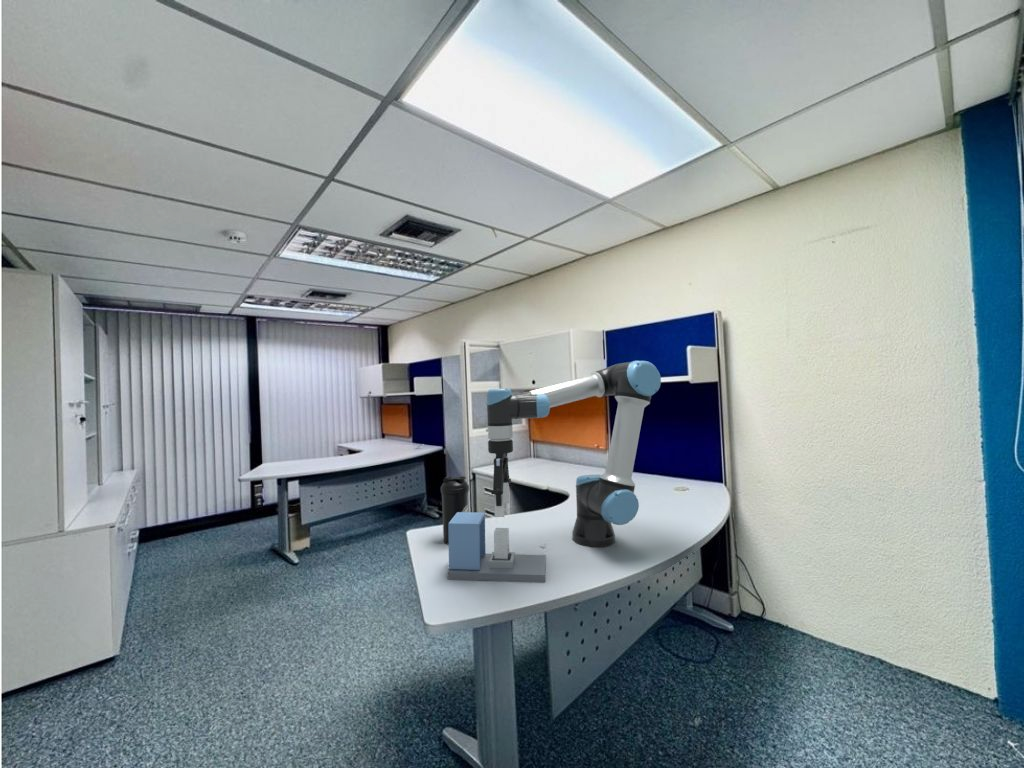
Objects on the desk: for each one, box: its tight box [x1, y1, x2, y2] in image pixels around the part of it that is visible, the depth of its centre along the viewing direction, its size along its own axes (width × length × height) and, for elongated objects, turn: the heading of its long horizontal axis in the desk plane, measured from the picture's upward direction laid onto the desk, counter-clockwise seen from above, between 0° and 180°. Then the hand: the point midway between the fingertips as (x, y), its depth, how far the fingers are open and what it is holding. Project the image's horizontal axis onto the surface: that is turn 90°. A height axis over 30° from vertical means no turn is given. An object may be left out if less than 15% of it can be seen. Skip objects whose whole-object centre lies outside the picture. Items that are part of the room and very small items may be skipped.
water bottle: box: [440, 475, 470, 546], centre depth 145 cm, size 10×10×23 cm
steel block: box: [493, 527, 510, 561], centre depth 120 cm, size 4×4×10 cm
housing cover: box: [448, 511, 487, 570], centre depth 121 cm, size 9×11×13 cm
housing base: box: [447, 551, 547, 583], centre depth 120 cm, size 28×14×4 cm, turn 84°
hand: (502, 509), depth 120 cm, fingers open, 13 cm apart
